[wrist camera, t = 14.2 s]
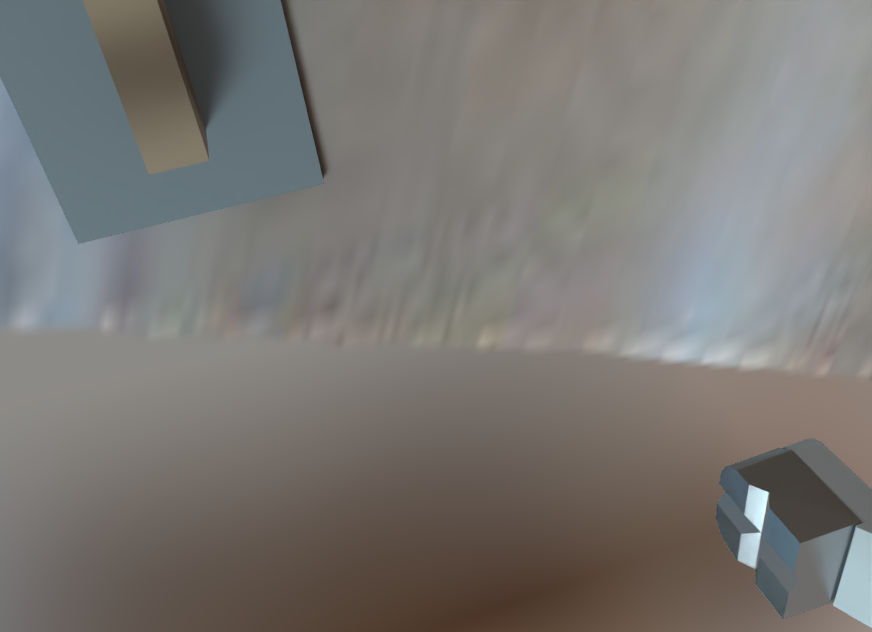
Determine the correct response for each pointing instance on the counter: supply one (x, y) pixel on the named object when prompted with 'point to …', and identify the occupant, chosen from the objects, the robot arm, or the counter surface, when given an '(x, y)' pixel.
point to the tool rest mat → (111, 132)
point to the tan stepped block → (151, 81)
